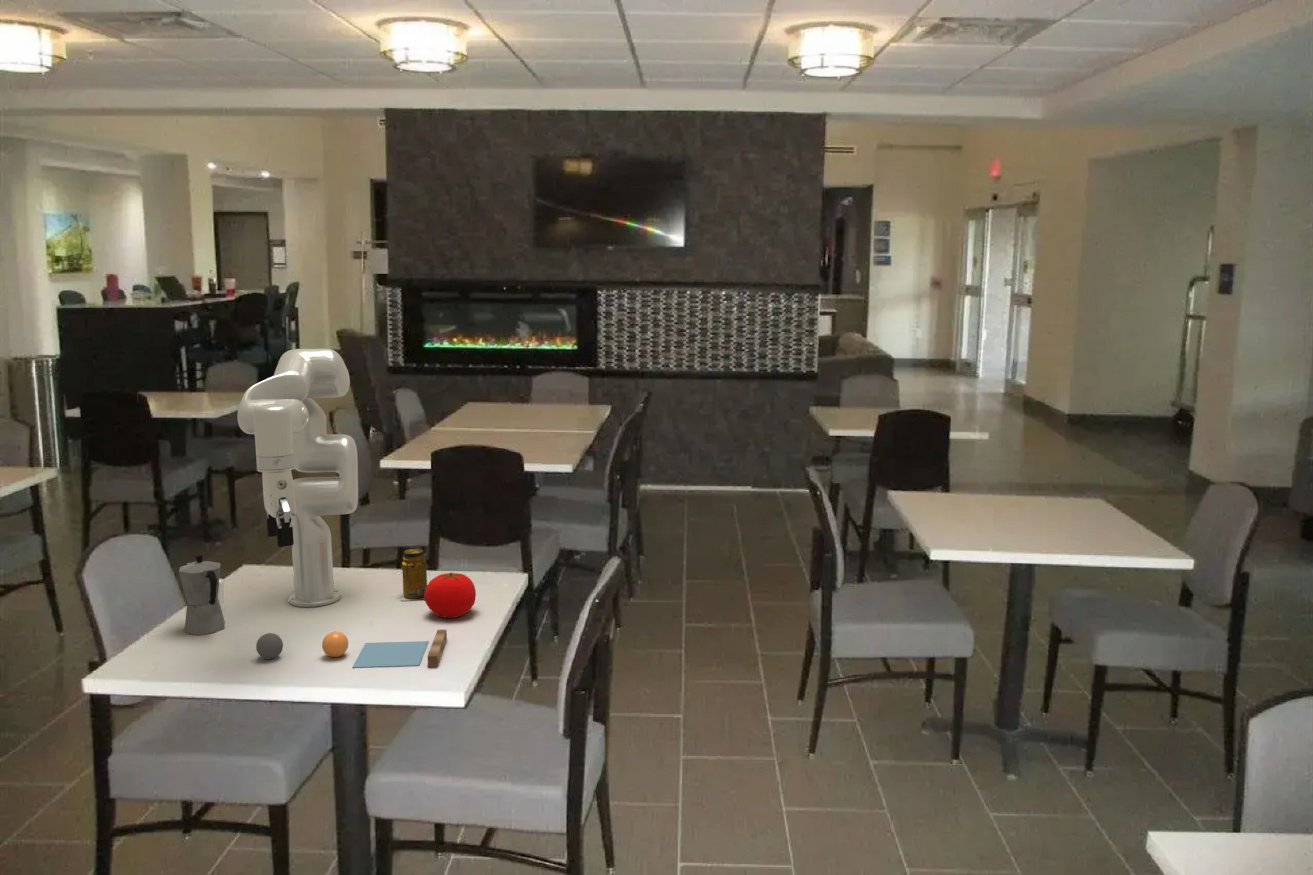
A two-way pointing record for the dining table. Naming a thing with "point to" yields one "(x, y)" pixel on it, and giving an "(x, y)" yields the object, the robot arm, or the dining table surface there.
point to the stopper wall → (437, 648)
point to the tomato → (450, 595)
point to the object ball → (335, 644)
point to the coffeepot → (202, 597)
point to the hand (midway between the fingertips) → (280, 540)
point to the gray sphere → (269, 646)
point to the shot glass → (221, 592)
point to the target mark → (391, 654)
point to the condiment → (414, 575)
